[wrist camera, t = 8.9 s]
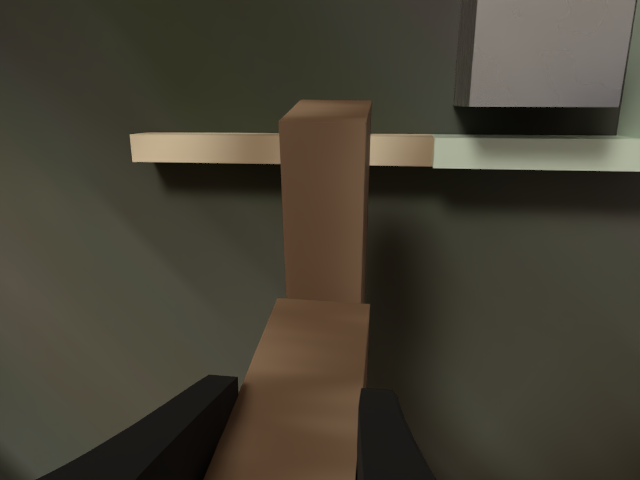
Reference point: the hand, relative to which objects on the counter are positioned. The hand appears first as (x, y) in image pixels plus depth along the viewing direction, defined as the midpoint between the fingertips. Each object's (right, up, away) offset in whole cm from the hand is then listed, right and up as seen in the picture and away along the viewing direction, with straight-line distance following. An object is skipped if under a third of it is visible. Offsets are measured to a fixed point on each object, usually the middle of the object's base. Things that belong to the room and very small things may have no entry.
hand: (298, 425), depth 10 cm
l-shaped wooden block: (+1, +2, +6) cm, 7 cm away
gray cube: (+7, +10, +7) cm, 15 cm away
